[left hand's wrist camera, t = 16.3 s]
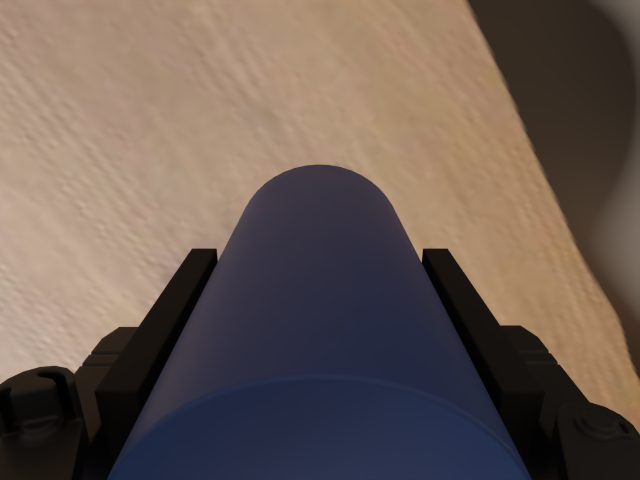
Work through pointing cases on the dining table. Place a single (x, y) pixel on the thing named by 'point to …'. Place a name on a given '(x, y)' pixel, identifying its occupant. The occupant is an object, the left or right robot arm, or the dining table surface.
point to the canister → (319, 356)
